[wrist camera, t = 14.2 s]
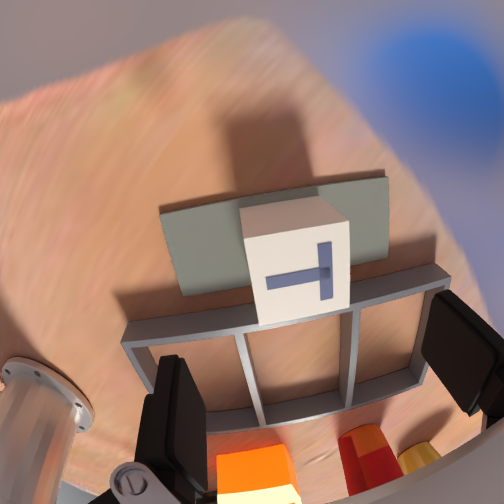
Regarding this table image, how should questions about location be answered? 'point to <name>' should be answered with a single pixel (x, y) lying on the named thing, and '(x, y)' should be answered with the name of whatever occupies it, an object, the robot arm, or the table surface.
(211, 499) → the dark ornate vase
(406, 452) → the plant pot
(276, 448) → the orange juice
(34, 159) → the table surface
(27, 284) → the table surface
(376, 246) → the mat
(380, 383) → the sorting box
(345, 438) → the coffee cup
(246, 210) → the letter cube
